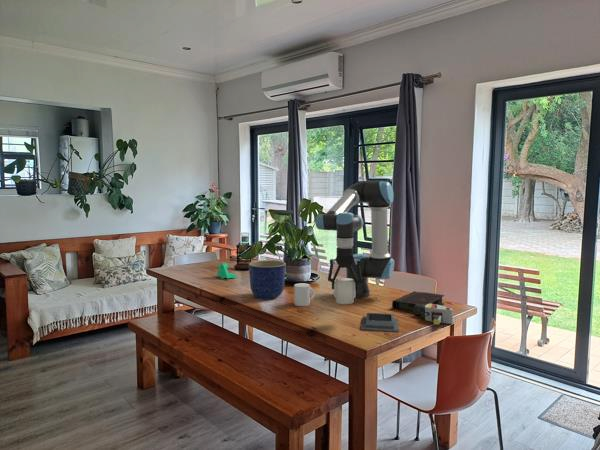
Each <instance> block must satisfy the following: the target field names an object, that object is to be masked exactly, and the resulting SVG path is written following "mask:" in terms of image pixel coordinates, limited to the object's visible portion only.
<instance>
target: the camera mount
mask: <svg viewBox="0 0 600 450" xmlns="http://www.w3.org/2000/svg"><path fill="white" fill-rule="evenodd" d="M228 269H229V266H228V263H227V262H224V263H220V265H219V267H218V270H217V272H216V276H217V277H219V278H220V277H222V278H227V280H228V279H232V278H233V279H234V278H236V277H237V274H236V273H232V272H229V271H228ZM222 278H221V279H222Z"/></svg>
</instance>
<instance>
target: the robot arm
mask: <svg viewBox="0 0 600 450" xmlns="http://www.w3.org/2000/svg"><path fill="white" fill-rule="evenodd" d="M341 195H342V196H340V198H339V199H338V200H337V201H336V202H335V203H334V204H333V205H332V207H330V208H329V210H328V211H327V212H326V213H321V214H317V215H316V217H315V220H314V221H315V227H316V229H318V230H322V231H335V232H336V258H331V259H329V271H328V277H327V281H328V282H331V289H332V290H333V292H334V293H333V296H334V298H336V279H337V276H338V274H339V272H340V270H341V269H343V268H346V278H350V279H353V280H354V284H353V298H354V299H355V298H357V299H358V298H359V299H360V298H366V297H369V296H370V295H371V294H370V293H371V290H370V287H369V283H368V279H375V280H376V279H378V280H389V279H391V278H392V276H393V274H394V269H395V260H394V258H392V257H391V253H389V250H388V249H389V248H388V247H389V243H388V242H389V241H388V239H389V237H388V209H389V208H390V207H391V204H392V203H393V202H394V195H395V194H394V188H393V186H392V184H391V183H390V182H388V181H382V180H381V181H380V180H379V181H377V180H374V181H373V180H372V181H359V182H356V183H354V184H352V185H350V186H349V187H348V188H346V189H345V190H344V191H343V192H342V194H341ZM358 204H367V205H368V209H370V211H371V213H370V215H371V216H370V218H371V221H370V222H371V253H370V254H369V256H368V254H367V253H354V248H353V247H354V233H355V232H358V231H359V230H361V229H362V228H363V227H364V219H363V217H362V216H361V215H359V214H354V213H353V212H349V211H350V210H351V209H352V207H353V206H357V205H358ZM335 263H337V265H338V266H337V268H336V271H335V273H334V275H333V277H332V274H333V268H334V265H335Z"/></svg>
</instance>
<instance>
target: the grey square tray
mask: <svg viewBox="0 0 600 450" xmlns="http://www.w3.org/2000/svg"><path fill="white" fill-rule="evenodd" d="M360 326H361V327H360V328H361V330H362V331H376V332H377V331H378V332H394V333H395V332H396V333H399V332H400V328H399V327H400V326H399V321H398V318H397V317H394V313H381V312H380V313H379V312H377V313H375V312H366V316H362V319H361V325H360Z"/></svg>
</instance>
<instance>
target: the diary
mask: <svg viewBox="0 0 600 450" xmlns="http://www.w3.org/2000/svg"><path fill="white" fill-rule="evenodd" d="M443 297H446V296H445V294H439V293H433V292H426V291H424V292H423V291H416V290H415V291H414V290H413V291H412V292H410V293H407V294H405V295H403V296H401V297H398V298H396V299H393V300H392V302H391V303H392V304H391V307H392V309H393V310H397V311H403V312H407V313H414V312H413V309H414V306H415V305H416V304H420V305H422V306H425V305H427V304H436V305H442V306H444V305H445V303H444V302H443Z"/></svg>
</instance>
